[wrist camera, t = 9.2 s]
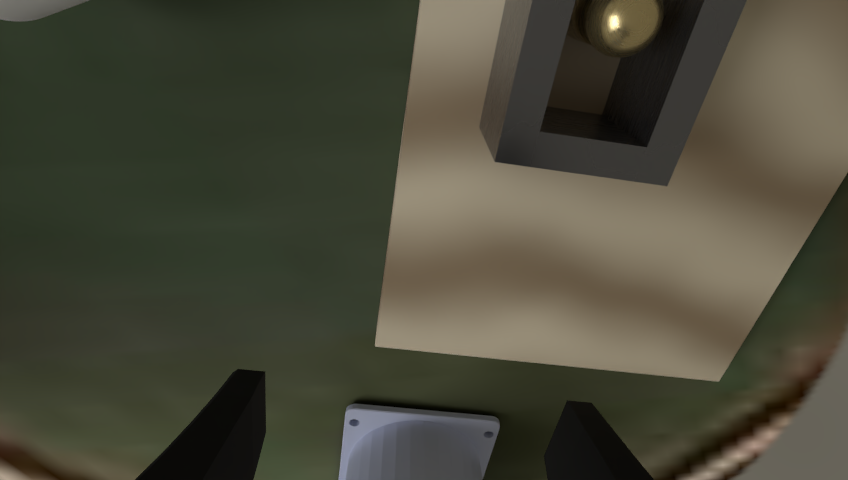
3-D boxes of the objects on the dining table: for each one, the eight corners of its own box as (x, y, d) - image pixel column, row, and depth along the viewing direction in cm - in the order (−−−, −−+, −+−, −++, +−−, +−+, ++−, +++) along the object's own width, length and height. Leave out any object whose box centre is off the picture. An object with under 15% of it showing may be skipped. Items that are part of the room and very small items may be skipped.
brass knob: (604, 48, 15) (659, 68, 12) (549, 38, 15) (588, 56, 11) (624, -17, 14) (691, -15, 11) (566, -28, 14) (614, -29, 11)
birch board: (701, 358, 23) (718, 381, 22) (376, 324, 22) (374, 346, 21) (996, -155, 14) (1057, -169, 13) (456, -276, 12) (461, -306, 11)
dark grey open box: (620, 147, 16) (666, 186, 13) (479, 126, 16) (494, 161, 13) (723, -141, 13) (823, -179, 10) (542, -179, 12) (586, -231, 9)
